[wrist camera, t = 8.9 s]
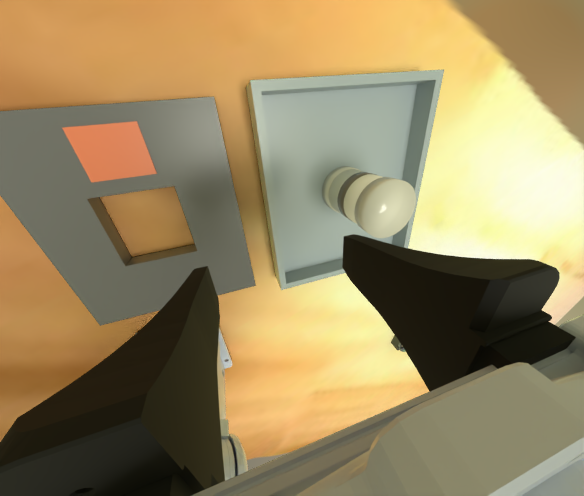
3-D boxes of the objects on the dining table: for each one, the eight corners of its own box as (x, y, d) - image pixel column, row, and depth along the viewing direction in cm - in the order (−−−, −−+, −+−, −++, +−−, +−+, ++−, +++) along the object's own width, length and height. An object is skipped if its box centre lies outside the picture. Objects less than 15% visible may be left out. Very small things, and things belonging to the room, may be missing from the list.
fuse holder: (253, 277, 23) (255, 286, 22) (107, 313, 20) (99, 326, 19) (214, 99, 16) (213, 96, 14) (-33, 117, 13) (-63, 115, 11)
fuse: (359, 205, 22) (410, 231, 17) (322, 213, 22) (361, 243, 16) (362, 163, 20) (421, 175, 14) (321, 169, 20) (366, 185, 14)
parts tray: (391, 246, 27) (406, 256, 25) (275, 276, 24) (281, 289, 22) (418, 76, 19) (444, 69, 17) (246, 87, 16) (250, 80, 14)
